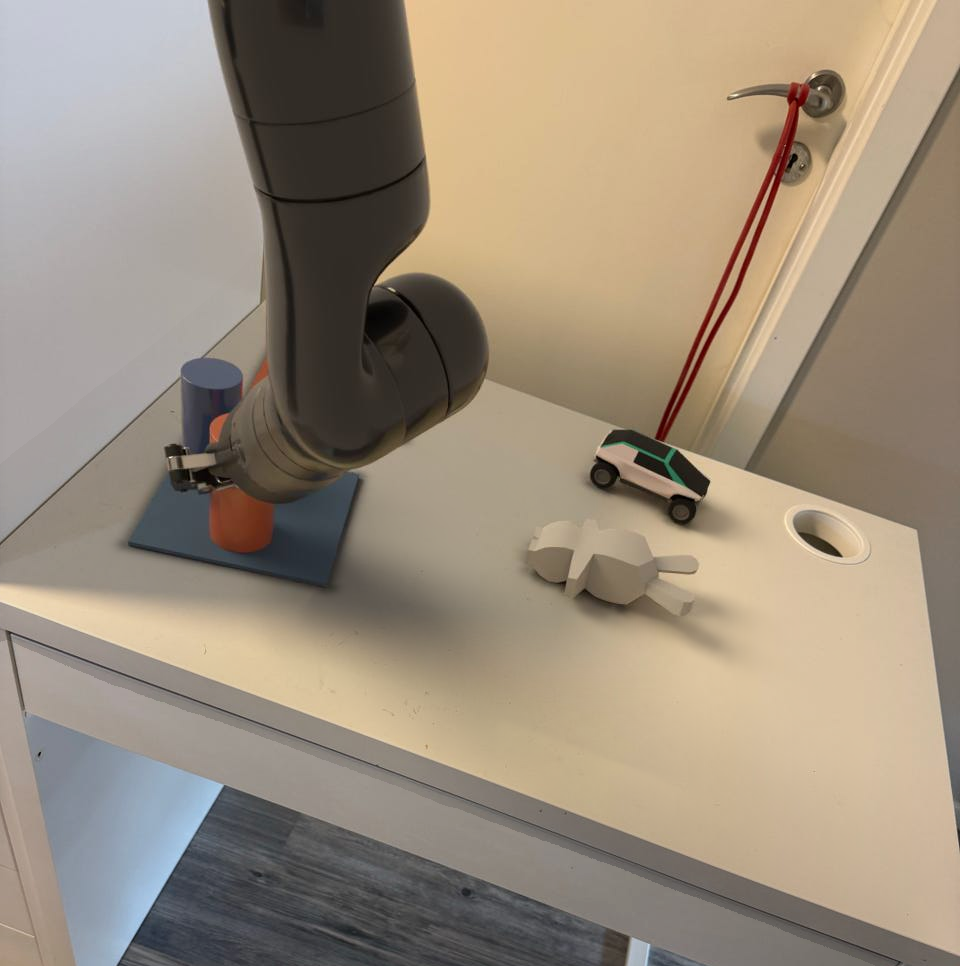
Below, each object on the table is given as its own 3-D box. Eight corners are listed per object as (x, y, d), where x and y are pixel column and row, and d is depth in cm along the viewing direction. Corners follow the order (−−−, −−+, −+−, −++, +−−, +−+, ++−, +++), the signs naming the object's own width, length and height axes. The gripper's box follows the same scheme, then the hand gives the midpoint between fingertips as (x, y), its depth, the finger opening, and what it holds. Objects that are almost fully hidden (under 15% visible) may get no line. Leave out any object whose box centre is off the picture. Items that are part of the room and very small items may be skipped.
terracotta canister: (200, 545, 71) (200, 441, 64) (218, 507, 75) (220, 405, 68) (264, 558, 72) (271, 457, 65) (279, 520, 76) (287, 421, 69)
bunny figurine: (546, 495, 81) (707, 534, 79) (538, 539, 84) (691, 577, 83) (523, 552, 74) (698, 597, 72) (515, 598, 78) (682, 642, 76)
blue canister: (174, 471, 77) (172, 380, 71) (191, 441, 81) (191, 352, 74) (231, 484, 78) (234, 394, 71) (246, 453, 81) (249, 365, 75)
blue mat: (127, 545, 70) (127, 541, 70) (189, 439, 82) (189, 435, 81) (325, 587, 72) (326, 583, 71) (358, 477, 83) (359, 474, 83)
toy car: (600, 456, 96) (616, 414, 92) (702, 502, 94) (722, 461, 90) (582, 481, 91) (598, 437, 88) (688, 529, 89) (709, 487, 86)
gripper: (385, 374, 59) (313, 426, 74) (165, 383, 53) (135, 437, 68) (402, 485, 60) (327, 514, 75) (187, 506, 54) (152, 534, 69)
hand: (236, 477), depth 72 cm, fingers closed on terracotta canister, 5 cm apart
